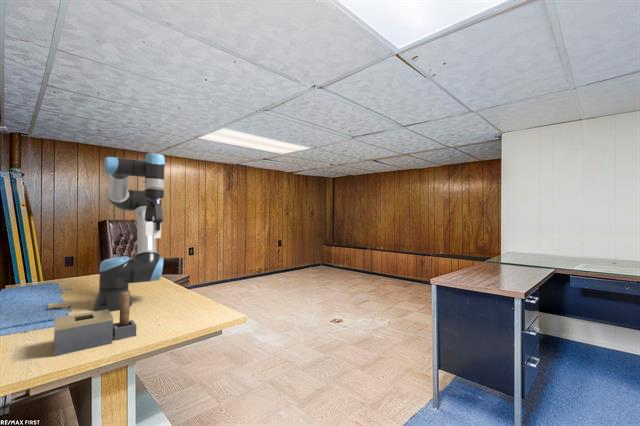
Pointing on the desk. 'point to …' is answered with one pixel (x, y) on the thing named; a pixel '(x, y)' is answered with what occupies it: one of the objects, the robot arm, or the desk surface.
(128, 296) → the brown rounded rod
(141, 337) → the desk surface
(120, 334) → the holder
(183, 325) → the desk surface
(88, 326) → the hollow box
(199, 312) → the desk surface
